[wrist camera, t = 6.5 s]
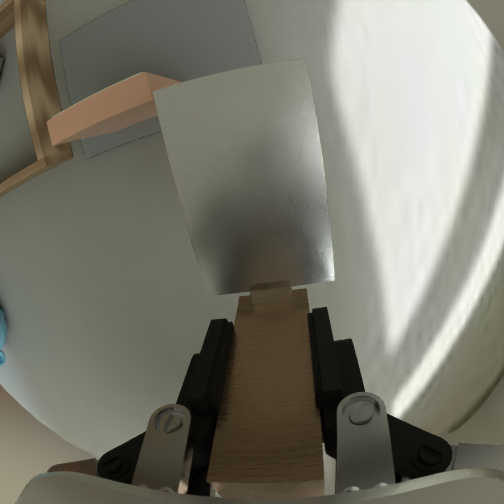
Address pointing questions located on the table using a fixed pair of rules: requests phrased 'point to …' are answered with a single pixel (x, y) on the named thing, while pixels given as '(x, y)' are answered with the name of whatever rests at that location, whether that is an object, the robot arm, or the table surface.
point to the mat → (155, 51)
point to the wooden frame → (34, 85)
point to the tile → (109, 109)
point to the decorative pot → (2, 336)
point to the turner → (257, 261)
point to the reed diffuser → (1, 63)
